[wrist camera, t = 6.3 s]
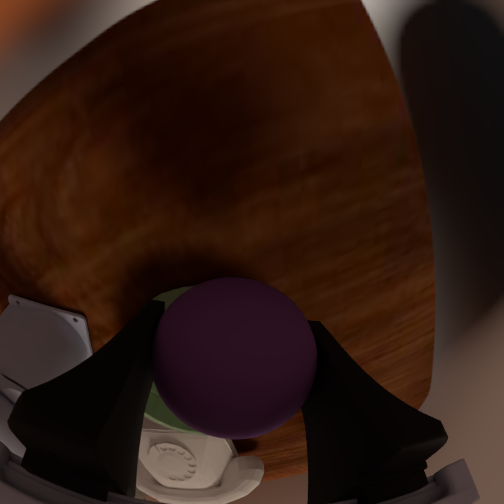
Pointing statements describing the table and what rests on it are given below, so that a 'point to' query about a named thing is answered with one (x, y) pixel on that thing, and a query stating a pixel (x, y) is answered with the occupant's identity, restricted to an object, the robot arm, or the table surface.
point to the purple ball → (233, 358)
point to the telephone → (193, 467)
